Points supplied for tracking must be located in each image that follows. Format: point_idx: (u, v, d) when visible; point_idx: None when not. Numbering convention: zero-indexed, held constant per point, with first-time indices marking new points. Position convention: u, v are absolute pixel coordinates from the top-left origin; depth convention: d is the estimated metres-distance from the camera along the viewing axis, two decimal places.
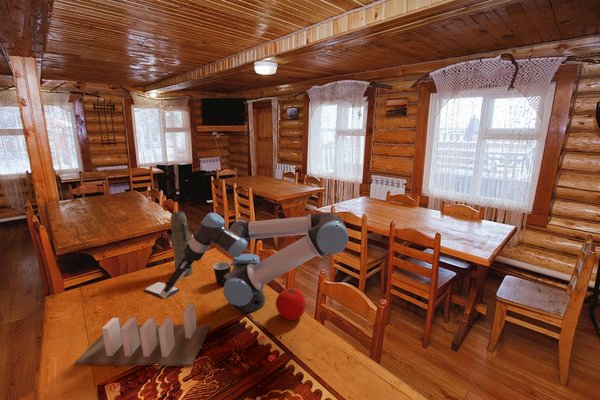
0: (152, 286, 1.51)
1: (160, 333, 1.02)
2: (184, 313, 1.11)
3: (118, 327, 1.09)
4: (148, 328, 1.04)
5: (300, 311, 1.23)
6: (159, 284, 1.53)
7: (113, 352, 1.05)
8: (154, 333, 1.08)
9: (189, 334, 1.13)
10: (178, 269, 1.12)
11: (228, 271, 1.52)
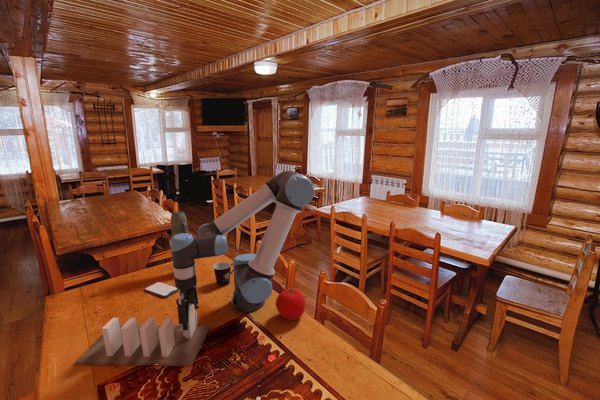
0: (152, 286, 1.51)
1: (160, 333, 1.02)
2: None
3: (118, 327, 1.09)
4: (148, 328, 1.04)
5: (300, 311, 1.23)
6: (159, 284, 1.53)
7: (113, 352, 1.05)
8: (154, 333, 1.08)
9: None
10: (179, 306, 1.07)
11: (228, 271, 1.52)
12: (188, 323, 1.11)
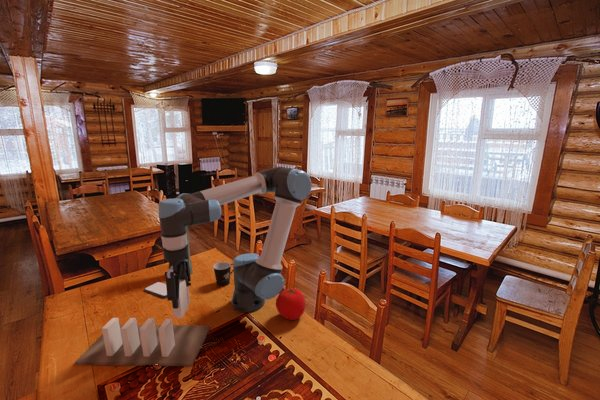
0: (152, 286, 1.51)
1: (160, 333, 1.02)
2: None
3: (118, 327, 1.09)
4: (148, 328, 1.04)
5: (300, 311, 1.23)
6: (159, 284, 1.53)
7: (113, 352, 1.05)
8: (154, 333, 1.08)
9: None
10: (168, 280, 0.94)
11: (228, 271, 1.52)
12: (178, 300, 0.98)
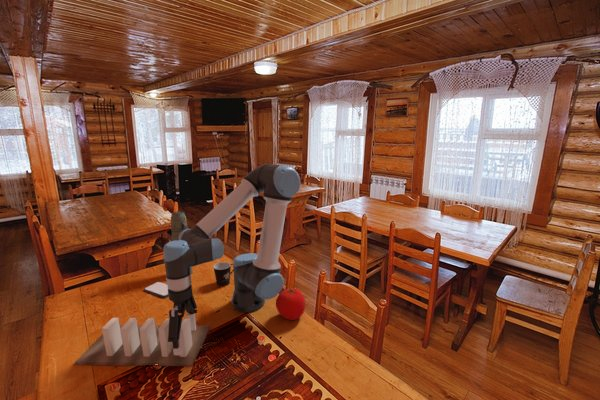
0: (151, 286, 1.51)
1: (160, 333, 1.02)
2: None
3: (118, 327, 1.09)
4: (148, 328, 1.04)
5: (300, 311, 1.23)
6: (158, 284, 1.53)
7: (113, 352, 1.05)
8: (154, 333, 1.08)
9: (184, 352, 1.04)
10: (171, 319, 0.96)
11: (228, 271, 1.52)
12: (179, 340, 0.99)
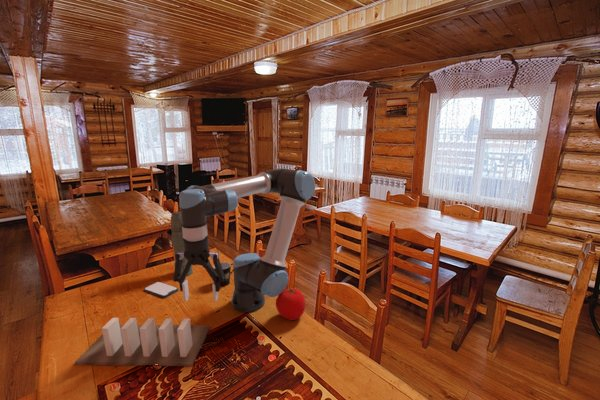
0: (151, 286, 1.51)
1: (160, 333, 1.02)
2: (179, 330, 1.02)
3: (118, 327, 1.09)
4: (148, 328, 1.04)
5: (300, 311, 1.23)
6: (158, 284, 1.53)
7: (113, 352, 1.05)
8: (154, 333, 1.08)
9: (184, 352, 1.04)
10: None
11: (228, 271, 1.52)
12: None
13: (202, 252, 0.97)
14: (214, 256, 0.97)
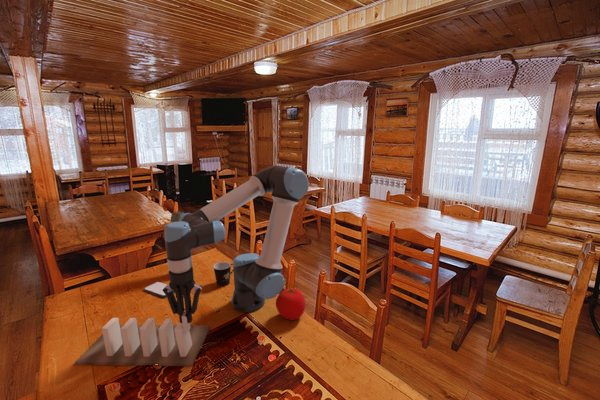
0: (151, 286, 1.51)
1: (160, 333, 1.02)
2: (176, 330, 1.02)
3: (118, 327, 1.09)
4: (148, 328, 1.04)
5: (300, 311, 1.23)
6: (158, 284, 1.53)
7: (113, 352, 1.05)
8: (154, 333, 1.08)
9: (184, 352, 1.04)
10: None
11: (228, 271, 1.52)
12: (182, 318, 1.03)
13: (187, 283, 1.00)
14: (197, 290, 1.00)
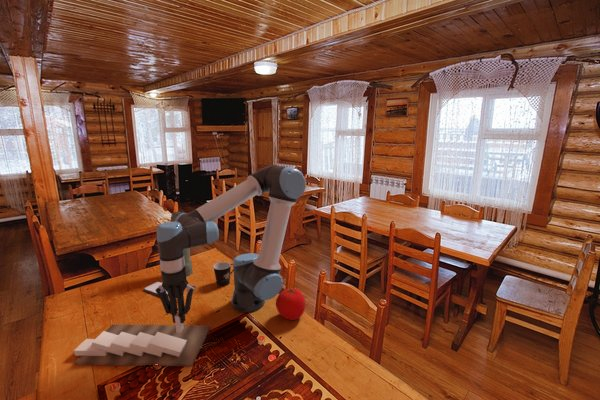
0: (151, 286, 1.51)
1: (134, 348, 1.04)
2: (149, 346, 1.04)
3: None
4: (118, 340, 1.06)
5: (300, 311, 1.23)
6: (158, 284, 1.53)
7: None
8: (135, 337, 1.09)
9: (175, 351, 1.04)
10: None
11: (228, 271, 1.52)
12: (175, 318, 1.03)
13: (180, 283, 1.00)
14: (190, 290, 1.00)
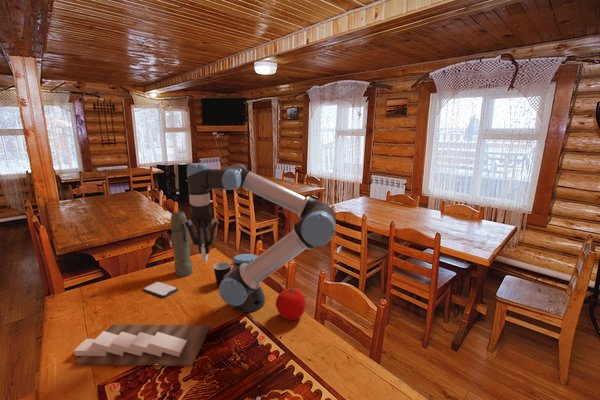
0: (151, 286, 1.51)
1: (134, 348, 1.04)
2: (149, 346, 1.04)
3: None
4: (118, 340, 1.06)
5: (300, 311, 1.23)
6: (158, 284, 1.53)
7: None
8: (135, 337, 1.09)
9: (175, 351, 1.04)
10: None
11: (228, 271, 1.52)
12: (201, 248, 1.18)
13: (206, 216, 1.15)
14: (215, 223, 1.16)
